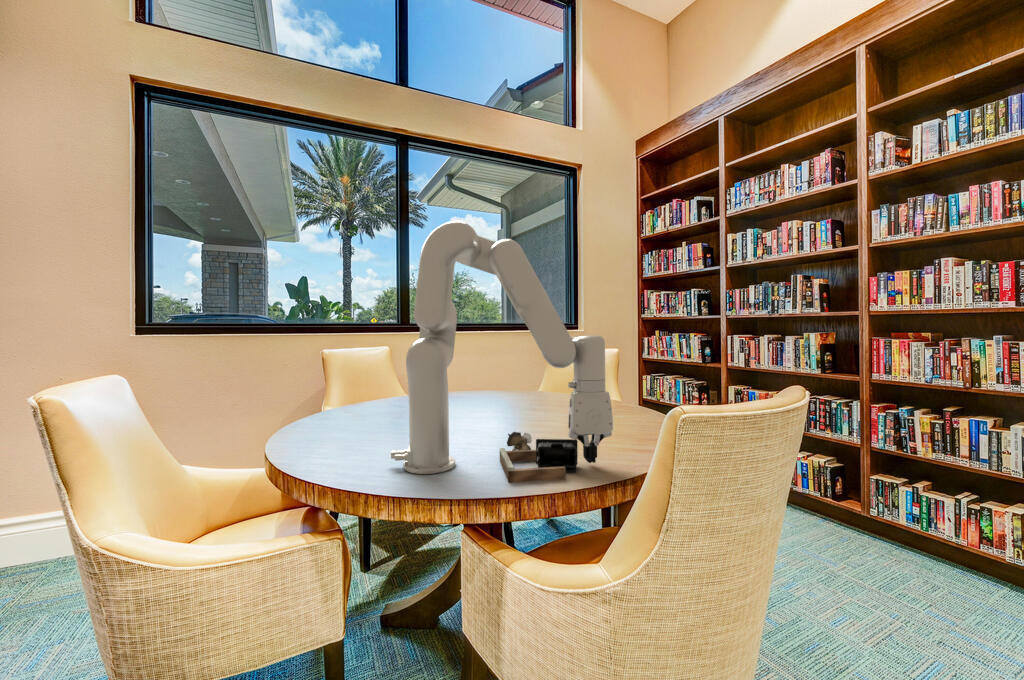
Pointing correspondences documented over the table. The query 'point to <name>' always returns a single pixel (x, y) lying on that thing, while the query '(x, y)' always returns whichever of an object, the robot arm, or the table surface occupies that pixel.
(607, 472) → the table surface
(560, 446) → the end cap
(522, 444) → the squirrel figurine
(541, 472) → the wooden tray
